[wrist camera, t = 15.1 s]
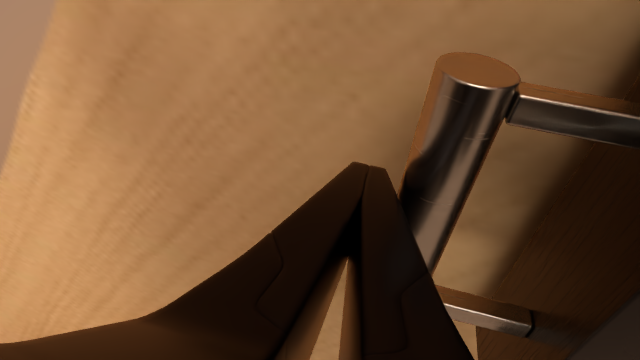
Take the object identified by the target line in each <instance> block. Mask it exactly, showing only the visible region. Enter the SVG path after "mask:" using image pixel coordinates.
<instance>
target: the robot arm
mask: <svg viewBox="0 0 640 360" xmlns="http://www.w3.org/2000/svg"><path fill="white" fill-rule="evenodd" d="M348 256H349V257H348ZM347 259H348V266H347V277H346V287H345V298H344V308H343V319H342V329H341V339H340V350H339V360H474V358H473V356H472V355H471V353H470V351H469V349H468V348H467V346H466V344H465V342H464V341H463V339H462V337H461V335H460V334H459V332H458V330H457V328H456V326H455V325H454V323H453V321H452V319H451V317H450V315H449V314H448V312H447V310H446V308H445V306H444V304H443V301H442V299H441V297H440V295H439V293H438V291H437V288H436V286H435V284H434V281H433V279H432V277H431V274H430V273H428V272H429V270H428V267H427V265H426V263H425V260H424V258H423V256H422V253H421V251H420V249H419V246H418V244H417V241H416V239H415V237H414V234H413V232H412V230H411V227H410V225H409V223H408V220H407V218H406V215H405V213H404V211H403V208H402V206H401V204H400V201H399V199H398V197H397V194H396V192H395V189H394V187H393V185H392V182H391V180H390V178H389V175H388V173H387V171H386V169H385V168H381V167H376V166H369V165H367V164H363V163H358V162H352V163H351V164H350V165H349V166H348V167H346V168H345V169H344V170H343V171H342V172H340V173H339V174H338V175H337V176H336V177H335V178H333V179H332V180H331V181H330V182H329V183H328V184H326V185H325V186H324V187H323V188H322V189H321V190H319V191H318V192H317V193H316V194H315V195H313V196H312V197H311V198H310V199H309V200H308V201H306V202H305V203H304V204H303V205H302V206H301V207H299V208H298V209H297V210H296V211H295V212H294V213H292V214H291V215H290V216H289V217H288V218H286V219H285V220H284V221H283V222H282V223H281V224H279V225H278V226H277V227H276V228H275V229H274V230H272V231H271V233H269V234H267V235H266V236H265V237H264V238H263V239H262V240H260V241H259V242H258V243H257V244H256V245H254V246H253V247H252V248H251V249H249V250H248V251H247V252H246V253H244V254H243V255H242V256H240V257H239V258H237V259H236V260H235V261H233V262H232V263H230V264H229V265H227V266H226V267H225V268H223V269H222V270H220V271H219V272H217V273H216V274H214V275H213V276H211V277H210V278H208V279H207V280H205V281H203V282H202V283H200V284H199V285H197V286H196V287H194V288H193V289H191V290H190V291H188V292H187V293H185V294H184V295H182V296H181V297H179V298H178V299H176V300H175V301H173V302H172V303H170V304H168V305H167V306H165V307H163V308H161V309H159V310H157V311H156V312H153V313H151V314H149V315H146V316H143V317H140V318H137V319H133V320H128V321H123V322H118V323H113V324H108V325H103V326H98V327H93V328H88V329H83V330H78V331H73V332H68V333H63V334H58V335H53V336H48V337H43V338H38V339H33V340H28V341H21V342H15V343H2V344H0V360H309V359H310V356H311V354H312V351H313V348H314V346H315V343H316V341H317V338H318V335H319V333H320V330H321V327H322V325H323V322H324V320H325V317H326V314H327V312H328V309H329V306H330V304H331V301H332V299H333V296H334V293H335V291H336V288H337V286H338V283H339V280H340V278H341V275H342V272H343V270H344V267H345V265H346V262H347Z"/></svg>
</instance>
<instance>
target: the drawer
mask: <svg viewBox="0 0 640 360" xmlns="http://www.w3.org/2000/svg"><path fill="white" fill-rule="evenodd" d="M504 118H505V122H506V123H507V124H508V125H512V126H518V127H523V128H528V129H533V130H538V131H543V132H549V133H554V134H559V135H564V136H569V137H574V138H580V139H585V140H590V141H595V143H594V145H593V146H592V148H591V149H590V151H589V152H588V154H587V155H586V157H585V158H584V160H583V161H582V163H581V164H580V166H579V167H578V169H577V170H576V172H575V173H574V175H573V176H572V178H571V179H570V181H569V182H568V184H567V185H566V187H565V188H564V190H563V191H562V193H561V194H560V196H559V198H558V199H557V201H556V202H555V204H554V205H553V207H552V208H551V210H550V211H549V213H548V214H547V216H546V217H545V219H544V220H543V222H542V223H541V225H540V226H539V228H538V229H537V231H536V232H535V234H534V235H533V237H532V238H531V240H530V241H529V243H528V244H527V246H526V247H525V249H524V250H523V252H522V254H521V255H520V257H519V258H518V260H517V261H516V263H515V264H514V266H513V267H512V269H511V270H510V272H509V273H508V275H507V276H506V278H505V279H504V281H503V282H502V284H501V285H500V287H499V288H498V290H497V291H496V293H495V294H494V296H493V297H492V299H490V298H486V297H482V296H478V295H474V294H470V293H466V292H462V291H458V290H454V289H450V288H446V287H442V286H438V285H435V286H436V288H437V291H438V293H439V295H440V297H441V299H442V301H443V304H444V306H445V308H446V310H447V312H448V314H449V315H450V317H451V319H452V320H456V321H460V322H464V323H468V324H472V325H475V326H476V338H477V352H478V360H640V75H639V76H638V78H637V79H636V81H635V82H634V84H633V85H632V87H631V89H630V90H629V92H628V93H627V95H626V96H625V98H624V99H623V100H620V99H614V98H608V97H603V96H597V95H592V94H586V93H581V92H575V91H569V90H564V89H558V88H553V87H547V86H542V85H536V84H530V83H525V82H520V76H519V74H518V72H517V71H516V70H515V69H513V68H512V67H510V66H509V65H507V64H505V63H503V62H501V61H499V60H497V59H494V58H491V57H488V56H484V55H480V54H475V53H466V52H454V53H447V54H444V55H442V56H440V57H439V58H438V59H437V61H436V63H435V67H434V70H433V74H432V77H431V81H430V84H429V87H428V91H427V94H426V98H425V101H424V105H423V108H422V111H421V115H420V118H419V122H418V125H417V129H416V132H415V135H414V139H413V142H412V146H411V149H410V153H409V156H408V159H407V163H406V166H405V170H404V173H403V177H402V180H401V184H400V187H399V190H398V194H397V197H398V199H399V201H400V204H401V206H402V208H403V211H404V213H405V215H406V218H407V220H408V223H409V225H410V227H411V230H412V232H413V234H414V237H415V239H416V241H417V244H418V246H419V249H420V251H421V253H422V256H423V258H424V260H425V263H426V265H427V267H428V270H429V272H428V273H430V274H431V277H432V276H433V274H434V271H435V269H436V267H437V265H438V263H439V260H440V258H441V256H442V254H443V252H444V249H445V247H446V245H447V243H448V241H449V238H450V236H451V234H452V232H453V230H454V227H455V225H456V223H457V221H458V219H459V216H460V214H461V212H462V210H463V208H464V205H465V203H466V201H467V199H468V197H469V194H470V192H471V190H472V188H473V186H474V183H475V181H476V179H477V177H478V175H479V172H480V170H481V168H482V166H483V164H484V161H485V159H486V157H487V155H488V153H489V150H490V148H491V146H492V144H493V142H494V139H495V137H496V135H497V133H498V130H499V128H500V126H501V124H502V122H503V119H504Z"/></svg>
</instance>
